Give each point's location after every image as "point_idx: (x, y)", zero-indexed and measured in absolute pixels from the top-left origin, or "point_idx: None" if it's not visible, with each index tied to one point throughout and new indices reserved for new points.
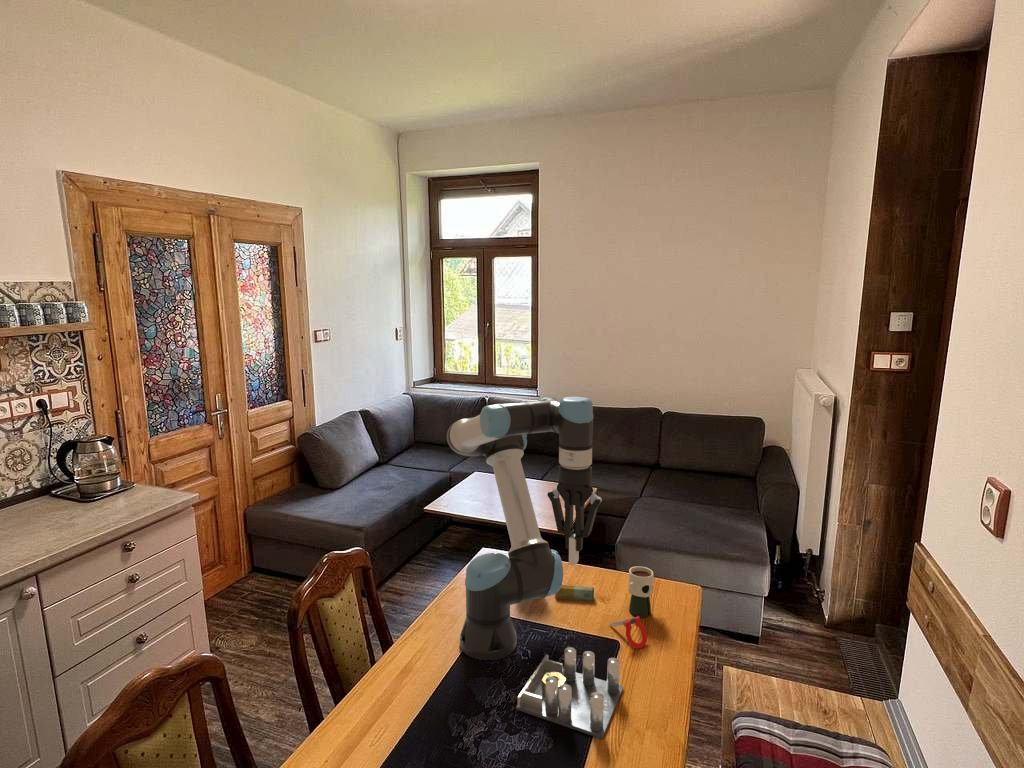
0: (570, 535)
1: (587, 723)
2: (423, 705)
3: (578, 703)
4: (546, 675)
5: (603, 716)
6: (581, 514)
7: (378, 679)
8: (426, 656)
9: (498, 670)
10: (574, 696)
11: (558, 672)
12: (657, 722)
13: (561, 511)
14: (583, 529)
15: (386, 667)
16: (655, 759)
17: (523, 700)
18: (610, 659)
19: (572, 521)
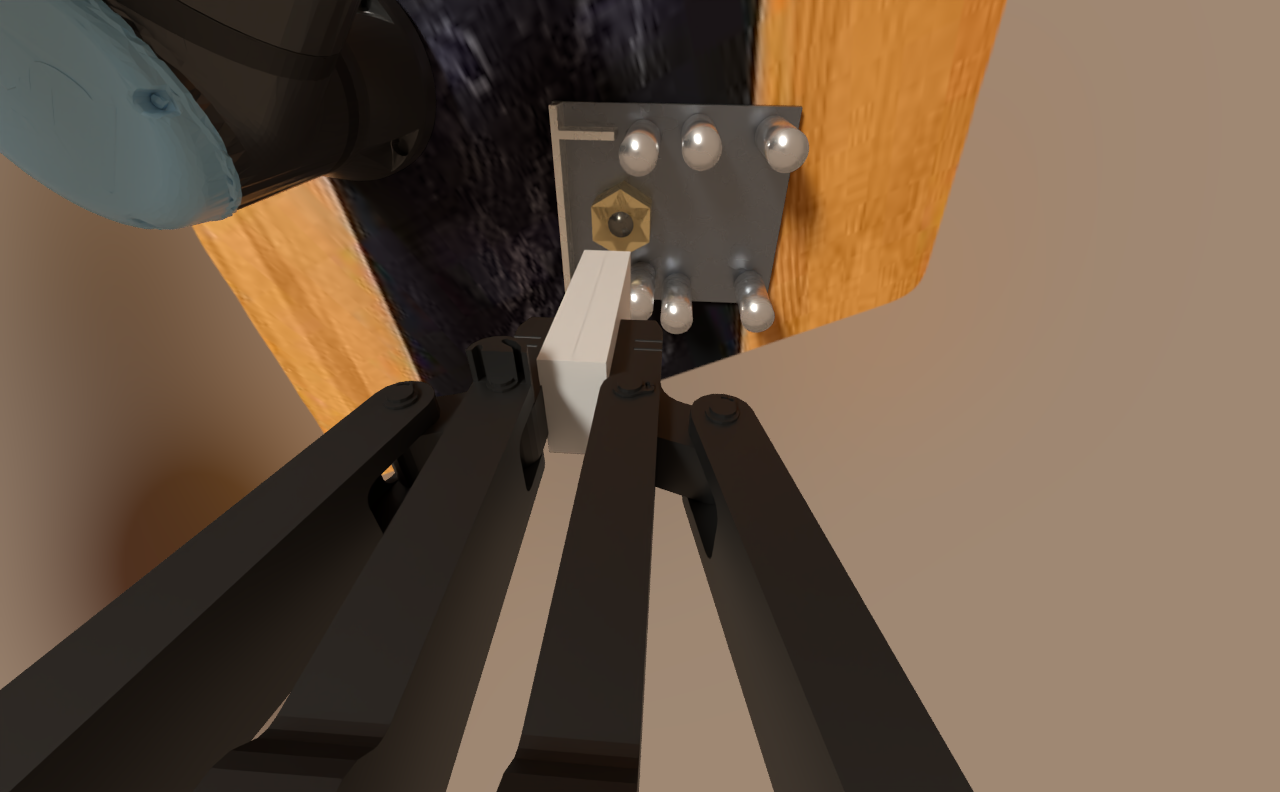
0: (545, 437)
1: (728, 284)
2: (406, 349)
3: (694, 231)
4: (596, 218)
5: (759, 249)
6: (642, 718)
7: (270, 323)
8: (266, 211)
9: (454, 183)
10: (678, 212)
11: (620, 191)
12: (890, 202)
13: (257, 606)
14: (657, 424)
15: (241, 286)
16: (873, 308)
17: None
18: (776, 143)
19: (498, 499)
